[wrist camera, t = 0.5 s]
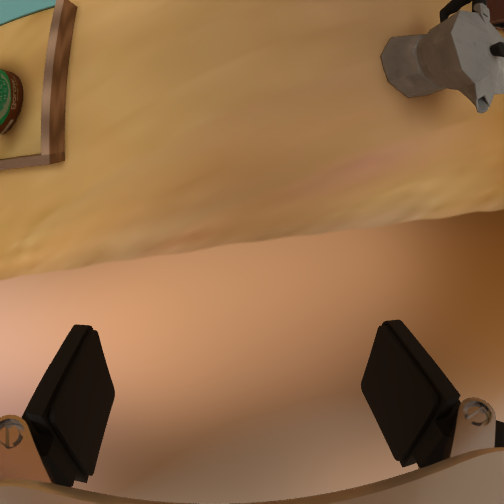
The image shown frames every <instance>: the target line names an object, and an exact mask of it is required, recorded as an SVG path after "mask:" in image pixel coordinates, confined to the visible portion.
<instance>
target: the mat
mask: <svg viewBox="0 0 504 504" xmlns="http://www.w3.org/2000/svg"><path fill="white" fill-rule="evenodd" d="M55 4H56V0H0V26H1V25H3V24H6V23H8V22H11V21H13V20H16V19H19V18H22V17H24V16H27V15H30V14H33V13H36V12H39V11H42V10H46V9H49V8H52V7H55Z"/></svg>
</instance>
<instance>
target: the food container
mask: <svg viewBox="0 0 504 504" xmlns="http://www.w3.org/2000/svg"><path fill="white" fill-rule="evenodd" d="M22 102H23V87H22V83H21V81H20V79H19V78H18V76H16V75H15V74H13V73H11V72H8V71H5V70H2V69H0V135H1V134H4V133H6V132H7V131H8V130H9V129H10V128H11V127H12V125H13V124H14V123H15V121H16V119H17V117H18V115H19V113H20V111H21V106H22Z"/></svg>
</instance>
